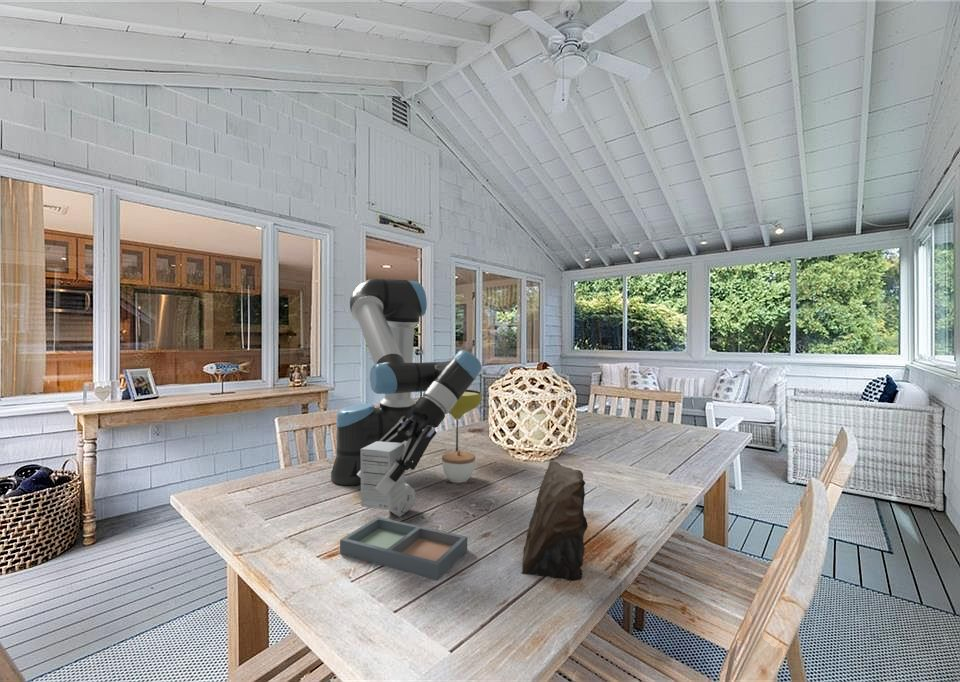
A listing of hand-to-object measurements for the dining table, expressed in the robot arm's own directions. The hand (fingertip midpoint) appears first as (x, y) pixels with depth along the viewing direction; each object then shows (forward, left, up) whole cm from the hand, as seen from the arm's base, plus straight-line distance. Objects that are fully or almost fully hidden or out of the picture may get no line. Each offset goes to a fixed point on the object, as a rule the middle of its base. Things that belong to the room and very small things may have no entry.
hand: (370, 484), depth 96 cm
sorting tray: (+7, +3, -14) cm, 16 cm away
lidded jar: (-4, +50, -15) cm, 52 cm away
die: (-6, +20, -15) cm, 25 cm away
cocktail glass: (-15, +70, -15) cm, 73 cm away
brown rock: (+37, +11, -15) cm, 41 cm away
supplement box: (+2, +3, -5) cm, 6 cm away
